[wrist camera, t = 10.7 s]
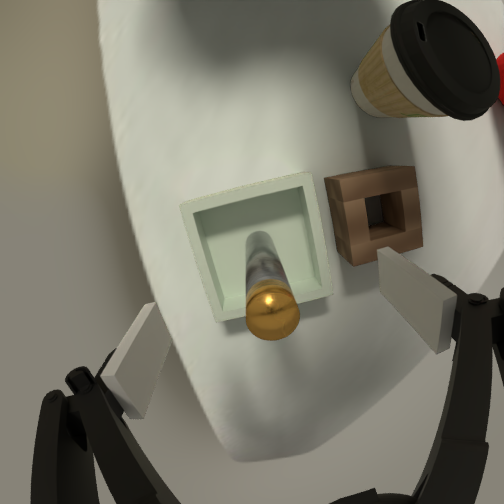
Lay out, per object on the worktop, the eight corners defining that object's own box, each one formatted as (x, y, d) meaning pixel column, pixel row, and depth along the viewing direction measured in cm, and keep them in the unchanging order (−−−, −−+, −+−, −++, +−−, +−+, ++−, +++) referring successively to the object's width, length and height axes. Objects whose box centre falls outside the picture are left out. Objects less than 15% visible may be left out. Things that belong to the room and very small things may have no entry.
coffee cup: (413, 140, 26) (511, 134, 12) (334, 127, 26) (413, 95, 12) (409, 64, 24) (491, 24, 9) (332, 45, 23) (390, -28, 9)
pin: (242, 234, 28) (239, 300, 14) (269, 227, 28) (294, 287, 14) (249, 260, 29) (252, 345, 15) (275, 254, 29) (303, 333, 15)
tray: (186, 200, 28) (178, 205, 25) (303, 172, 27) (311, 172, 24) (218, 306, 31) (215, 322, 28) (324, 281, 31) (333, 294, 27)
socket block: (323, 177, 28) (339, 179, 23) (390, 165, 27) (414, 166, 22) (337, 251, 30) (353, 266, 25) (399, 235, 29) (422, 246, 25)
